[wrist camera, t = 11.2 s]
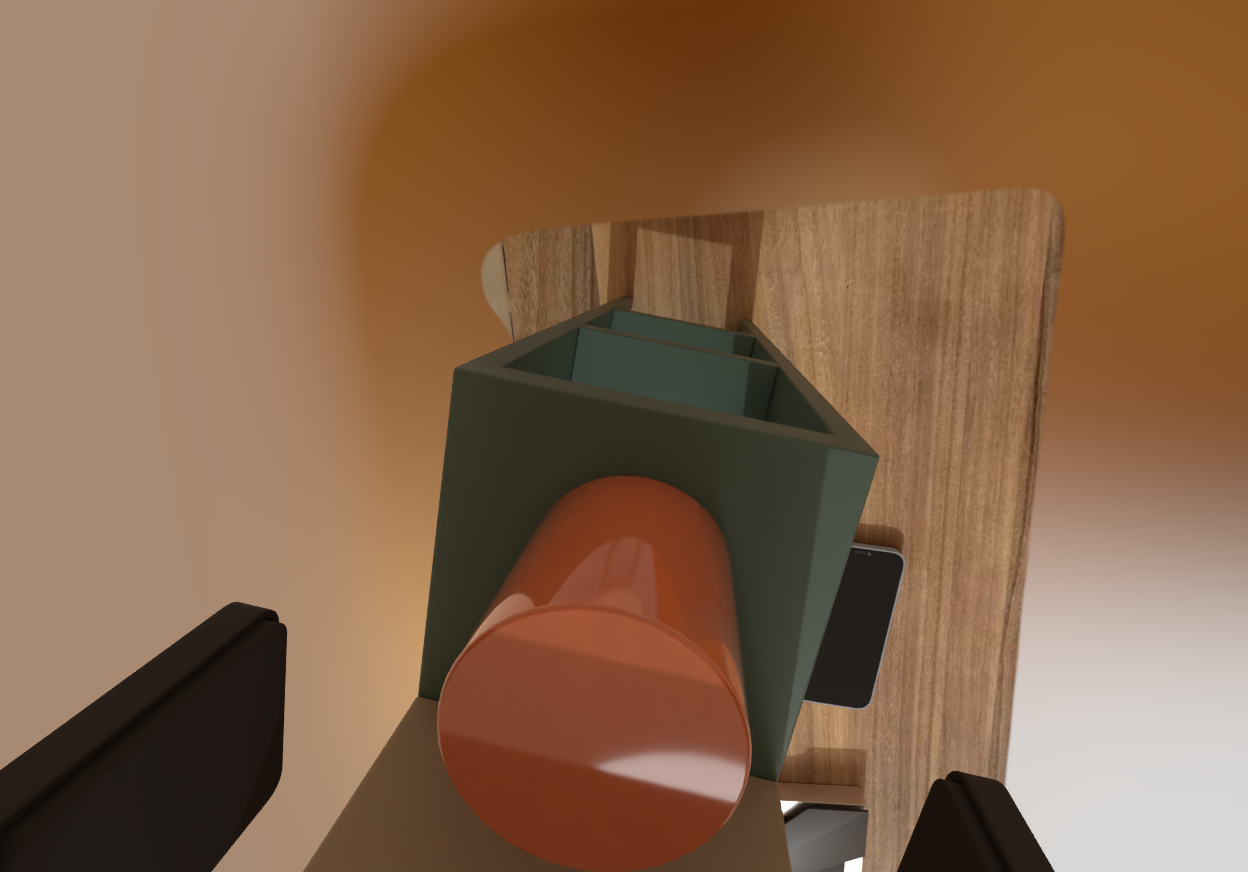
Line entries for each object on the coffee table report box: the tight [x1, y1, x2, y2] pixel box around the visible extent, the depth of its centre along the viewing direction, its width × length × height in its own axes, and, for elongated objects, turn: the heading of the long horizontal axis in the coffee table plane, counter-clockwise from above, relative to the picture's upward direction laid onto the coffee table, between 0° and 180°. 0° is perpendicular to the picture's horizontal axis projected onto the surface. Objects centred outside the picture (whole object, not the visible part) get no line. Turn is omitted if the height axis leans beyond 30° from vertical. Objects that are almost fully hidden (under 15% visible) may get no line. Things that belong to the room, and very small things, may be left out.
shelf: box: [303, 296, 879, 872], centre depth 27 cm, size 10×10×46 cm
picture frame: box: [777, 782, 868, 872], centre depth 59 cm, size 16×3×21 cm
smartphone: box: [803, 542, 905, 709], centre depth 53 cm, size 7×1×15 cm
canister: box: [437, 476, 752, 872], centre depth 13 cm, size 5×5×6 cm
